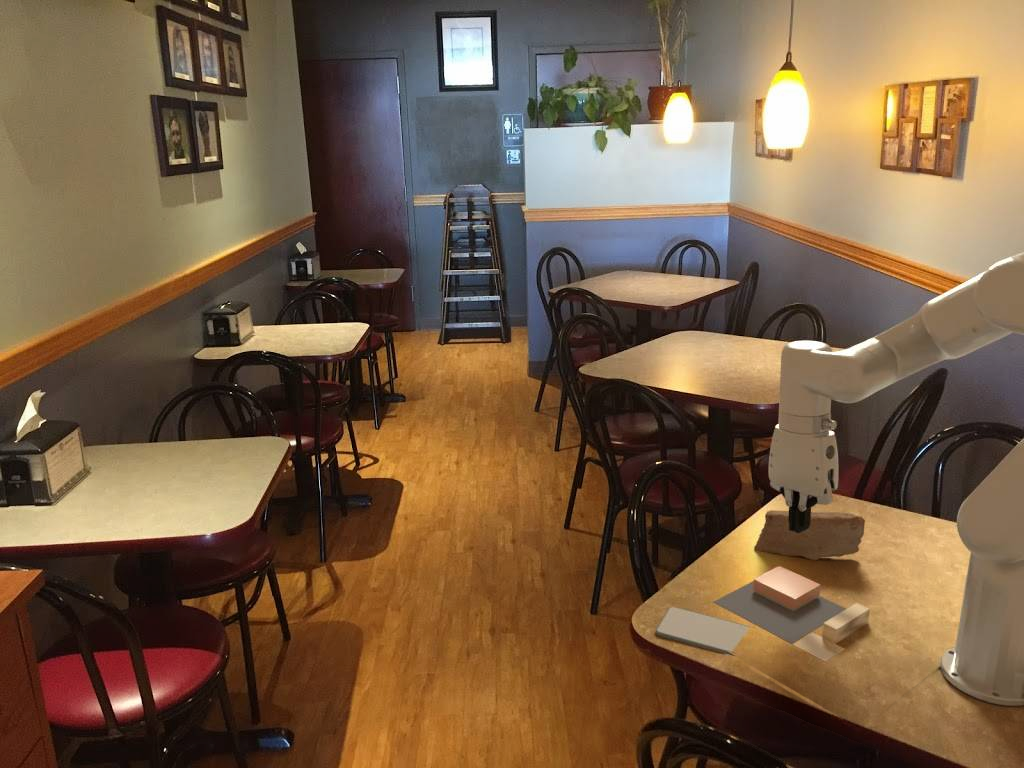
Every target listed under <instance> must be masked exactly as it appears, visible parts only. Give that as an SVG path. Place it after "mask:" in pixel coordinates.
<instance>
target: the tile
mask: <svg viewBox="0 0 1024 768" xmlns="http://www.w3.org/2000/svg"><path fill="white" fill-rule="evenodd" d="M753 590H755V591H754V592H755V593H757V594H759V595H761V596H763V597H765V598H767V599H769V600H771V601H773V602H775V603H777V604H779V605H781V606H783V607H785V608H787V609H789V610H791V611H793V612H794V611H795V610H797V609H799V608H801V607H802V606H804V605H806V604H807V603H809V602H811V601H813V600H814V599H816V598H818V596H820V593H821V584H820V583H817V582H815V581H814V580H812V579H809V578H806V577H805V576H803V575H800V574H798V573H796V572H794V571H791V570H790V569H787V568H785V567H783V566H781V565H778V566H776V567H774V568H772V569H770V570H768V571H767V572H764V573H763V574H761V575H759V576H756V577H755V578H753Z"/></svg>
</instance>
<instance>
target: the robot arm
mask: <svg viewBox="0 0 1024 768" xmlns="http://www.w3.org/2000/svg"><path fill="white" fill-rule="evenodd" d="M1013 333H1014V334H1018V335H1022V336H1024V252H1021V253H1017V254H1016V255H1012V256H1010V257H1007V258H1005V259H1002V260H1000V261H997V262H996V263H994V264H993V265H991V266H990V267H988V268H987V269H986V270H985V271H984V272H982V273H980V274H978V275H976V276H974V277H972V278H971V279H969V280H966V281H965V282H963V283H961V284H959V285H957V286H955V287H953V288H952V289H949V290H947V291H946V292H944V293H943V294H940V295H938V296H936V297H934V298H932V299H930V300H929V301H927V302H926V303H924V304H923V305H922V306H921V307H920V309H919V310H918V311H917V313H915V314H914V315H912V316H910V317H909V318H907V319H905V320H904V321H901V322H900V323H898V324H896V325H894V326H892V327H891V328H888V329H887V330H885V331H883V332H881V333H879V334H877V335H875V336H873V337H871V338H868V339H867V340H865V341H862V342H860V343H858V344H855V345H852V346H850V347H848V348H845V349H842V350H837V351H833V348H832V347H831V346H830V345H829V344H827V343H825V342H822V341H818V340H817V341H816V340H795V341H791V342H788V343H787V344H785V345H784V346H783V348H782V350H781V355H780V373H779V374H780V377H779V378H780V379H779V380H780V381H779V400H778V401H779V402H778V403H779V404H778V406H779V407H778V424H776V425H775V427H774V430H773V434H772V438H771V444H770V450H769V459H768V478H769V480H770V482H769V485H770V487H771V488H773V489H774V490H776V491H778V492H780V493H781V495H782V497H783V498H784V500H785V505H786V506H787V507H788V511H789V517H788V521H789V530H790V531H795V532H796V533H800V532H802V531H804V530H806V529H808V528H809V526H810V521H811V512H812V508H813V507H815V506H816V505H824V506H827V505H830V504H832V503H833V502H834V498H833V497H834V496H833V492H834V491H836V490H838V486H839V451H838V444H837V438H836V434H835V432H834V430H835V429H836V428H837V425H838V424H837V421H836V420H833V419H832V413H831V408H832V407H831V405H832V400H833V401H836V402H838V403H844V404H853V403H858V402H860V401H863V400H865V399H866V398H868V397H870V396H871V395H873V394H875V393H876V392H880V390H883V389H885V388H886V387H889V386H891V385H893V384H895V383H897V382H898V381H900V380H902V379H905V378H908V377H909V376H912V375H913V374H915V373H917V372H919V371H922V370H924V369H926V368H928V367H930V366H933V365H935V364H937V363H939V362H943V361H945V360H946V361H947V360H956V359H958V358H962V357H964V356H966V355H968V354H971V353H973V352H975V351H976V350H979V349H981V348H984V347H985V346H988V345H989V344H990V345H991V343H994V342H996V341H999V340H1000V339H1002V338H1004V337H1007V336H1009V335H1011V334H1013ZM832 430H833V431H832ZM956 527H957V532H958V535H959V539H960V540H961V542H962V544H963V546H965V548H966V549H967V550H968V552H970V554H969V555H970V556H969V560H968V568H967V573H966V578H965V585H964V591H963V597H962V605H961V609H960V616H959V622H958V629H957V635H956V642H955V646H953V647H952V646H951V648H948V649H947V650H945V651H944V652H943V653H942V655H941V658H940V670H941V673H942V674H943V676H944V677H945V679H946V680H947V681H948V682H949V683H950V684H952V685H953V686H954V687H955V688H957V689H958V690H960V691H962V692H963V693H965V694H966V695H968V696H970V697H971V696H972V697H973V698H975V699H977V700H981V701H982V702H983V701H984V702H987V703H991V704H994V705H1002V706H1007V707H1008V706H1010V707H1019V706H1024V437H1023V438H1022V439H1021V440H1020V441H1019V442H1018V443H1017V444H1016V445H1015V446H1014V447H1013V448H1012V449H1011V451H1010V452H1009V453H1008V454H1007V455H1006V456H1005V457H1004V458H1003V459H1002V460H1001V461H1000V462H999V463H998V465H997V466H995V468H994V469H992V470H991V472H990V473H989V474H988V475H987V476H986V477H985V478H984V479H983V480H982V481H981V482H980V484H978V485H977V486H976V487H975V489H974V490H973V491H972V492H971V493H970V494H969V495H968V496H967V498H965V499H964V500H963V502H962V504H961V506H960V507H959V509H958V513H957V517H956Z"/></svg>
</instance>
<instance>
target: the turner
mask: <svg viewBox="0 0 1024 768" xmlns="http://www.w3.org/2000/svg"><path fill="white" fill-rule="evenodd" d="M870 609H871V608H869V607H866V606H864V605H862V604H860V603H858V602H856V603H854V604H852V605H850V606H849V607H848V608H846V610H844V611H843V612H841V613H839V614H838V615H836V616H834V617H833V618H831V619H829V620H828V621H826V622H824V624H823V625H822V636H821V635H818V634H816V633H814V632H810V633H809V634H807V635H805V636H804V637H802V638H800V639H799V640H797V641H796V642H794V643H792V645H793V646H794V647H797V648H798V649H800V650H803V651H804V652H807V653H808V654H810V655H812V656H814V657H816V658H817V659H820V660H821V661H823V662H825V663H827V662H828V661H830V660H831V659H833V658H835V656H837V655H838V654H840V653H842V652H844V651H845V650H846V648H844V647H843V646H840V645H838V643H839V642H841V641H842V640H845V638H847V637H849V636H850V635H851V634H853V633H854V632H857V631H858V630H859V629H862V628H863V627H864V626H866V625H867V624H868V623H869V618H870Z"/></svg>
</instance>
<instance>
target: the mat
mask: <svg viewBox="0 0 1024 768" xmlns="http://www.w3.org/2000/svg"><path fill="white" fill-rule="evenodd" d="M753 581H754V580H753ZM753 581H750V582H748V583H747V584H745V585H743V586H741V587H739V588H737V589H735V590H733V591H731V592H729V593H728V594H725V595H724V596H722V597H720V598H718V599H716V600H714V601H713V603H714V604H716V605H718V606H720V607H722V608H723V609H726V610H727V611H729V612H731V613H733V614H734V615H736V616H738V617H741V618H742V619H744V620H746V621H748V622H750V623H752V624H753V625H755V626H757V627H759V628H761V629H763V630H764V631H767V632H769V633H770V634H772V635H774V636H776V637H777V638H780V639H782V640H783V641H785V642H787V643H789V644H792V645H793V644H795V643H796V642H798V641H800V640H801V639H803V638H805V637H806V636H808V635H809V634H811V633H813V632H814V631H816V630H817V629H819V628H820V627H823V624H824V622H826V621H828V620H829V619H831V618H833V617H834V616H836V615H838V614H839V613H841V612H843V611H844V610H846V609H847V608H846V607H844V606H843V605H839V604H838V603H835V602H834V601H831V600H828V599H827V598H824V597H823V596H820V595H819V596H818V598H816V599H814V600H813V601H811V602H809V603H807V604H806V605H804V606H802V607H801V608H799V609H797V610H795V611H794V612H793V611H791V610H789V609H787V608H785V607H783V606H781V605H779V604H777V603H775V602H773V601H771V600H769V599H767V598H765V597H763V596H761V595H759V594H757V593H755V592H754V591H755V590H753Z"/></svg>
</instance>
